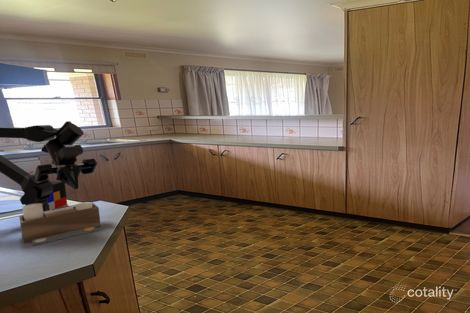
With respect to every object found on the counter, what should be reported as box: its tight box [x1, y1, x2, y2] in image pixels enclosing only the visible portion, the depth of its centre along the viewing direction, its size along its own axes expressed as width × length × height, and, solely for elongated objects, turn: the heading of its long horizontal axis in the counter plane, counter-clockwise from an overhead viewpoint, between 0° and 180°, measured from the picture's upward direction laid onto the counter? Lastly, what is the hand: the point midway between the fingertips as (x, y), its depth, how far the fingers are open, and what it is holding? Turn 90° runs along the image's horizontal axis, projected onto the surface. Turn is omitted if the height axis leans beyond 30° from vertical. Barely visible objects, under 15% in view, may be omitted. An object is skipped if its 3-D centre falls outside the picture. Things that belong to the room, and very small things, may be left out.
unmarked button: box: [22, 203, 44, 221], centre depth 95 cm, size 5×5×6 cm
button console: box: [18, 202, 101, 244], centre depth 99 cm, size 9×21×6 cm, turn 127°
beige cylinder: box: [74, 201, 93, 211], centre depth 103 cm, size 5×5×6 cm
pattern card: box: [31, 226, 98, 247], centre depth 94 cm, size 4×17×1 cm, turn 127°
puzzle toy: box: [46, 180, 68, 210], centre depth 128 cm, size 10×10×10 cm
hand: (76, 188), depth 104 cm, fingers closed
